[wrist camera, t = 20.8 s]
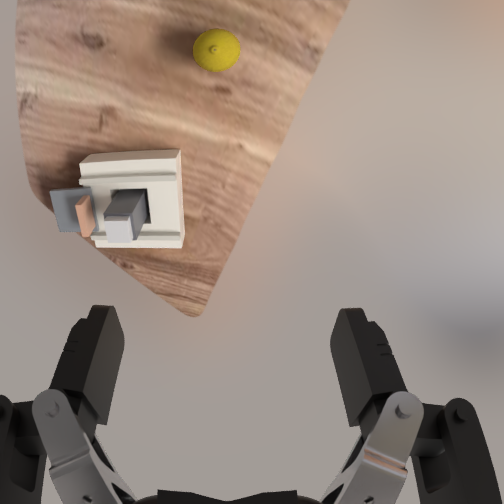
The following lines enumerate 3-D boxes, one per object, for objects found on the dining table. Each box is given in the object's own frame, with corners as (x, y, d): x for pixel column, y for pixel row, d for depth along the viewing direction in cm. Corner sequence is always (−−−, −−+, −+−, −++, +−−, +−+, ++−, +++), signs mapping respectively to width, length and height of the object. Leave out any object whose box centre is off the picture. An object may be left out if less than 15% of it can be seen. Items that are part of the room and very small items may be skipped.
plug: (123, 184, 45) (100, 218, 36) (148, 183, 45) (129, 217, 37) (126, 208, 47) (105, 245, 39) (150, 207, 47) (134, 245, 39)
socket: (90, 154, 42) (76, 166, 38) (180, 149, 43) (174, 160, 39) (104, 233, 50) (94, 251, 46) (184, 233, 51) (180, 251, 47)
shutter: (51, 189, 40) (40, 200, 37) (91, 186, 40) (81, 198, 38) (61, 229, 44) (51, 242, 41) (99, 229, 45) (91, 242, 42)
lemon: (211, 77, 37) (206, 83, 31) (188, 45, 35) (178, 44, 28) (248, 56, 36) (251, 56, 29) (224, 23, 33) (222, 16, 27)
